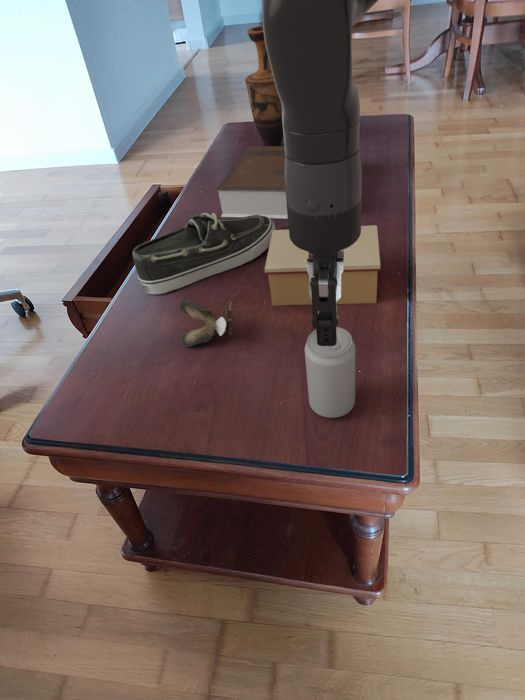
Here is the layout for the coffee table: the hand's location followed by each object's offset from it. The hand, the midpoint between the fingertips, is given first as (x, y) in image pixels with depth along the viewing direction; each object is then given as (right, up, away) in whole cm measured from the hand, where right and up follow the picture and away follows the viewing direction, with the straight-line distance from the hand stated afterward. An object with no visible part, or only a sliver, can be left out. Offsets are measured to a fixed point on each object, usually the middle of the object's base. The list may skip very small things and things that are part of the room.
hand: (328, 320), depth 62 cm
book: (-1, +34, +61) cm, 70 cm away
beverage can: (+2, -11, +10) cm, 15 cm away
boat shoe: (-18, +14, +42) cm, 48 cm away
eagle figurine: (-17, -1, +25) cm, 30 cm away
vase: (-5, +51, +81) cm, 96 cm away
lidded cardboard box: (+3, +8, +32) cm, 33 cm away
